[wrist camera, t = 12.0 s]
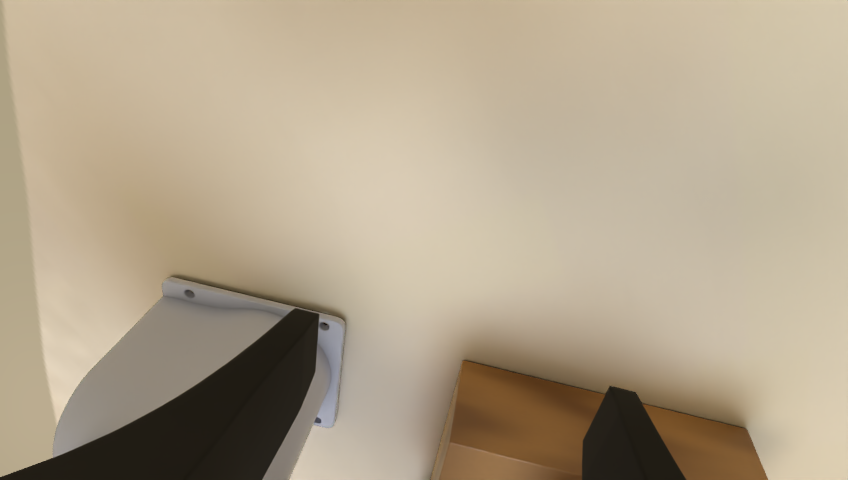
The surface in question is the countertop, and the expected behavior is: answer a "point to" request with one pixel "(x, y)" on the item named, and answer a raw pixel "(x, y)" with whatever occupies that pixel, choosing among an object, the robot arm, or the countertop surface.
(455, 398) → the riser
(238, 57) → the countertop surface
